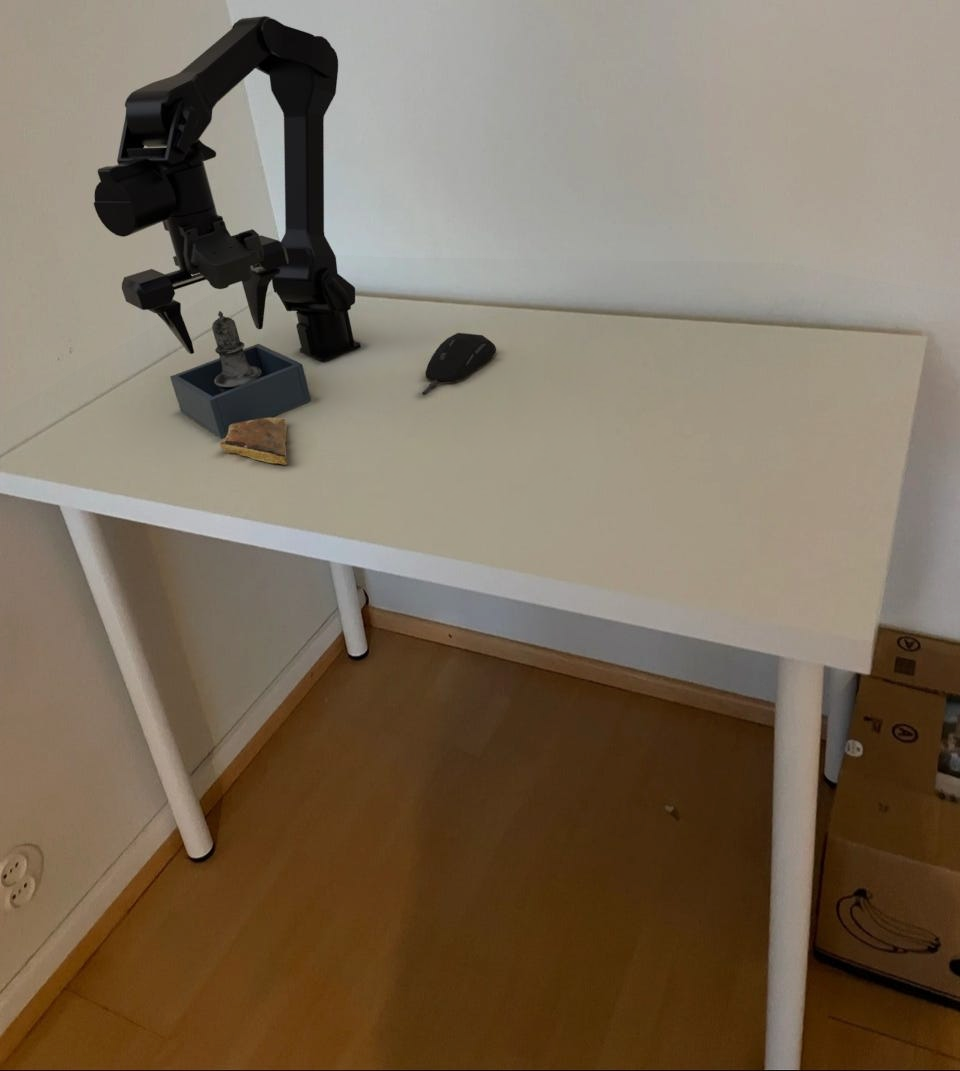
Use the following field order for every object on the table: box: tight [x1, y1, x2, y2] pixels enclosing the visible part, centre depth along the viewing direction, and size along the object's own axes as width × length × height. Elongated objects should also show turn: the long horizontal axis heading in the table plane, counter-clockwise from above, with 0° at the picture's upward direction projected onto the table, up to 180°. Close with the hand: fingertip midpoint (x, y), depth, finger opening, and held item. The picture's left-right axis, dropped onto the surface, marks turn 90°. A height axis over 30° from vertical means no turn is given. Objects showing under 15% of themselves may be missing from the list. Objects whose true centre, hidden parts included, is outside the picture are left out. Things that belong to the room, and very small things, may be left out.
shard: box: [219, 417, 288, 466], centre depth 109 cm, size 11×8×2 cm
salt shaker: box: [211, 310, 262, 393], centre depth 118 cm, size 6×6×12 cm
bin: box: [169, 343, 312, 439], centre depth 120 cm, size 13×12×5 cm
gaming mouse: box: [421, 332, 497, 396], centre depth 121 cm, size 6×15×4 cm, turn 149°
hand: (226, 340), depth 116 cm, fingers open, 9 cm apart
